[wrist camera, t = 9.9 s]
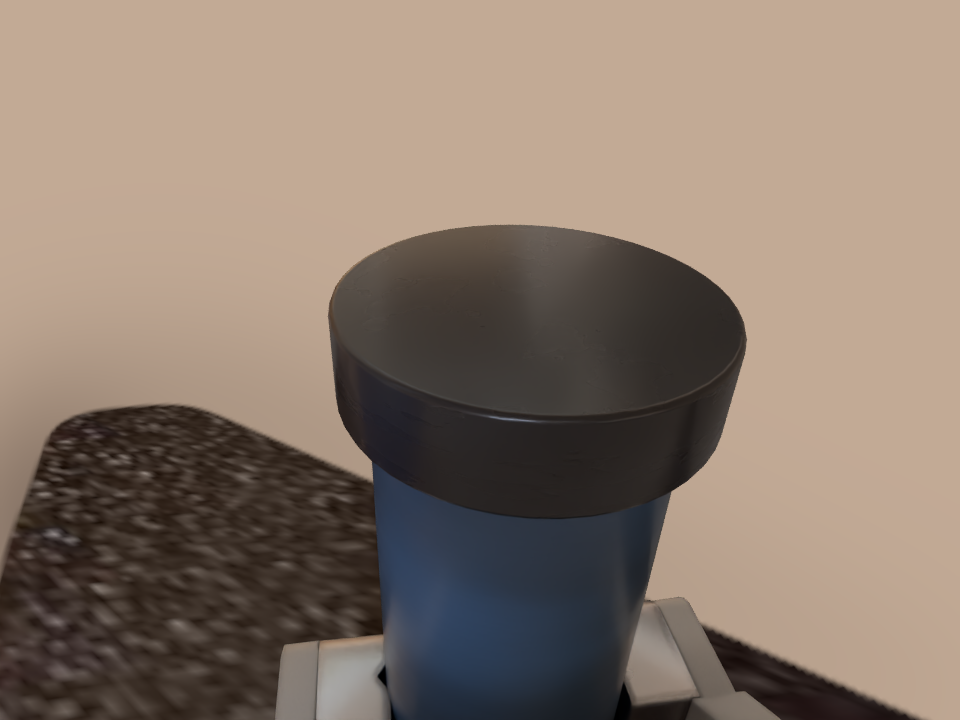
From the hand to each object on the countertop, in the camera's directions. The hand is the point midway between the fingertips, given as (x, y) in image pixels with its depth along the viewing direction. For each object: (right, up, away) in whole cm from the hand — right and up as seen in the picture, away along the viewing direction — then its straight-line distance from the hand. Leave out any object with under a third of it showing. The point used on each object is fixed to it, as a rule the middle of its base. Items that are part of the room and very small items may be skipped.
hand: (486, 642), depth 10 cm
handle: (0, -8, +4) cm, 9 cm away
